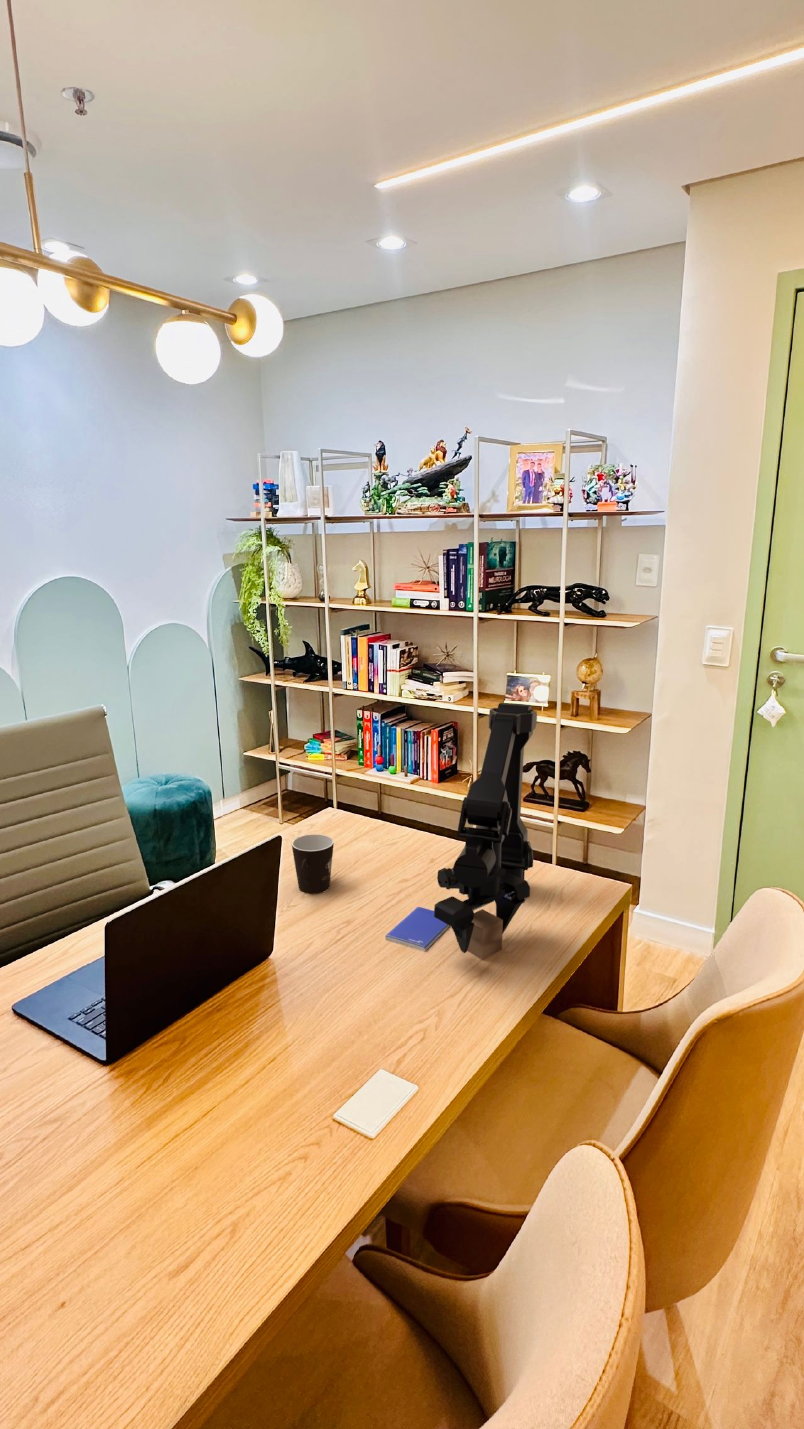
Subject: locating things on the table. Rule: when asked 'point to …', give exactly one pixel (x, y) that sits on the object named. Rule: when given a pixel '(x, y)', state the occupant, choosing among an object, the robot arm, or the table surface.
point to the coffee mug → (313, 862)
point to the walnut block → (486, 935)
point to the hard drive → (417, 930)
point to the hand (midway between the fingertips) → (482, 942)
